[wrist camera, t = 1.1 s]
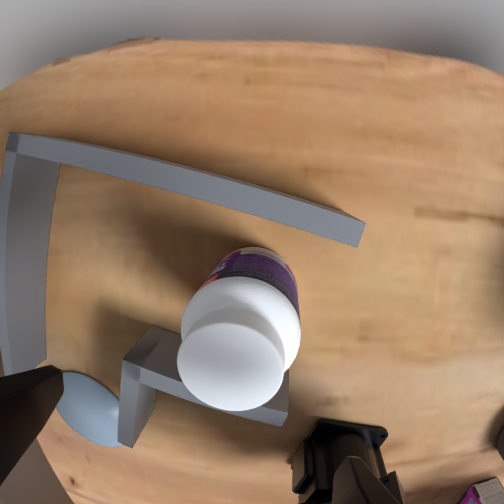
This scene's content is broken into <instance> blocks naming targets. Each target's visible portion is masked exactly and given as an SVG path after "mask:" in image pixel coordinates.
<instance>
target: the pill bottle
mask: <svg viewBox="0 0 504 504" xmlns="http://www.w3.org/2000/svg"><path fill="white" fill-rule="evenodd" d="M300 336H301V328H300V316H299V305H298V294H297V284H296V280H295V276H294V274H293V272H292V270H291V268H290V266H289V265H288V264H287V262H286V261H285V260H284V259H283V258H282V257H280V256H279V255H278V254H276V253H274V252H272V251H270V250H268V249H264V248H260V247H246V248H241V249H238V250H235V251H233V252H231V253H230V254H228V255H227V256H225V257H224V258H223V259H222V260H221V261H220V262H219V263H218V264H217V266H216V267H215V268H214V270H213V271H212V272H211V273H210V275H209V276H208V277H207V279H206V280H205V281H204V283H203V284H202V285H201V286H200V288H199V289H198V290H197V292H196V293H195V294H194V295H193V297H192V298H191V300H190V301H189V303H188V305H187V306H186V308H185V311H184V313H183V317H182V322H181V338H182V344H181V346H180V348H179V351H178V355H177V367H178V372H179V375H180V377H181V379H182V381H183V383H184V385H185V386H186V388H187V389H188V390H189V391H190V392H191V393H192V394H193V395H194V396H195V397H197V398H198V399H199V400H201V401H202V402H204V403H206V404H208V405H210V406H213V407H215V408H219V409H223V410H228V411H244V410H249V409H253V408H256V407H259V406H261V405H262V404H264V403H266V402H267V401H269V400H270V399H271V398H272V397H273V396H274V395H275V394H276V393H277V391H278V390H279V388H280V386H281V384H282V380H283V376H284V372H285V371H286V370H287V369H288V368H289V367H290V366H291V364H292V363H293V361H294V359H295V357H296V355H297V352H298V349H299V345H300Z"/></svg>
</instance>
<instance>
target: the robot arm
mask: <svg viewBox="0 0 504 504" xmlns="http://www.w3.org/2000/svg"><path fill="white" fill-rule="evenodd" d="M63 393H64V382H63V372H62V370H61V369H59V368H57V367H55V366H53V365H48V366H44V367H40V368H36V369H32V370H28V371H24V372H20V373H16V374H12V375H7V376H3V377H0V486H1V484H2V483H3V481H4V480H5V479H6V477H7V476H8V475H9V473H10V472H11V470H12V469H13V468H14V466H15V465H16V463H17V462H18V461H19V459H20V458H21V457H22V455H23V454H24V453H25V451H26V450H27V449H28V447H29V446H30V445H31V443H32V442H33V441H34V439H35V438H36V437H37V436H38V434H39V433H40V432H41V430H42V429H43V427H44V426H45V424H46V422H47V421H48V419H49V417H50V416H51V414H52V412H53V411H54V409H55V407H56V406H57V404H58V402H59V401H60V399H61V397H62V395H63ZM320 425H323V426H320ZM381 434H382V435H381ZM387 437H388V432H387V430H386V429H382V428H375V427H367V426H361V425H354V424H348V423H342V422H336V421H331V420H326V419H320V420H318V421H317V422H316V423H315V425H314V427H313V429H312V430H311V432H310V434H309V435H308V437H307V438H305V439H303V441H302V442H301V444H300V446H299V447H298V449H297V451H296V452H295V454H294V456H293V462H292V464H291V469H292V470H293V478H292V491H293V492H294V493H296V494H299V504H408V501H407V498H406V495H405V493H404V490H403V488H402V486H401V483H400V481H399V479H398V476H397V474H396V472H395V471H393V472H391V473H388V475H387V472H386V468H385V465H384V461H383V458H382V454H381V451H380V446H381V445H382V444H383V442H384V441H385V439H386V438H387Z"/></svg>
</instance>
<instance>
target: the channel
mask: <svg viewBox="0 0 504 504" xmlns="http://www.w3.org/2000/svg"><path fill="white" fill-rule="evenodd" d="M60 163H62V164H66V165H70V166H75V167H79V168H83V169H87V170H91V171H95V172H99V173H103V174H107V175H110V176H114V177H118V178H122V179H126V180H130V181H134V182H137V183H141V184H145V185H149V186H152V187H156V188H160V189H163V190H167V191H171V192H174V193H178V194H182V195H185V196H189V197H192V198H196V199H199V200H203V201H206V202H210V203H213V204H217V205H220V206H224V207H227V208H231V209H234V210H238V211H241V212H244V213H248V214H251V215H254V216H258V217H261V218H264V219H268V220H271V221H274V222H278V223H281V224H284V225H287V226H291V227H294V228H297V229H300V230H304V231H307V232H310V233H313V234H316V235H319V236H323V237H326V238H329V239H332V240H335V241H338V242H341V243H344V244H347V245H351V246H354V247H357V248H358V245H359V242H360V239H361V236H362V233H363V230H364V227H365V224H366V223H365V222H363V221H361V220H359V219H357V218H355V217H353V216H351V215H350V214H348V213H346V212H343V211H340V210H337V209H334V208H331V207H328V206H325V205H322V204H318V203H315V202H312V201H309V200H306V199H303V198H300V197H296V196H293V195H290V194H287V193H283V192H280V191H277V190H273V189H270V188H267V187H263V186H260V185H256V184H253V183H249V182H246V181H242V180H239V179H235V178H232V177H228V176H224V175H221V174H217V173H213V172H210V171H206V170H202V169H198V168H194V167H190V166H187V165H183V164H179V163H175V162H171V161H166V160H162V159H158V158H154V157H150V156H145V155H141V154H137V153H132V152H128V151H123V150H119V149H114V148H109V147H105V146H100V145H95V144H90V143H85V142H80V141H75V140H69V139H64V138H59V137H52V136H44V135H35V134H26V133H15V132H10V133H9V137H8V142H7V147H6V152H5V158H4V164H3V170H2V176H1V183H0V349H1V355H2V362H3V368H4V374H5V376H7V375H12V374H16V373H20V372H24V371H28V370H32V369H34V368H35V367H36V366H38V365H39V364H40V363H41V362H43V361H44V360H45V359H46V337H45V291H46V269H47V255H48V243H49V233H50V225H51V217H52V209H53V203H54V196H55V190H56V184H57V179H58V173H59V168H60ZM181 344H182V338H181V335H179V334H176V333H173V332H171V331H168V330H165V329H162V328H159V327H157V326H154V325H152V326H151V328H150V329H149V330H148V331H147V332H146V333H145V334H144V336H143V337H142V338H141V339H140V340H139V341H138V342H137V344H136V345H135V346H134V347H133V348H132V349H131V350H130V352H129V353H128V354H127V355H126V356H125V357H124V358H123V361H122V372H121V383H120V397H119V414H118V438H117V442H119V443H121V444H123V445H126V446H128V447H130V448H133V446H134V444H135V443H136V441H137V439H138V437H139V435H140V434H141V432H142V430H143V428H144V426H145V425H146V423H147V421H148V419H149V417H150V416H151V414H152V412H153V410H154V407H155V401H156V395H157V389H158V390H160V391H163V392H166V393H168V394H171V395H174V396H177V397H180V398H182V399H185V400H188V401H191V402H194V403H197V404H200V405H203V406H206V407H210V408H213V409H216V410H219V411H223V412H226V413H230V414H233V415H237V416H240V417H244V418H248V419H251V420H255V421H259V422H263V423H267V424H271V425H276V426H280V427H282V425H283V423H284V421H285V419H286V417H287V415H288V413H289V368H288V369H287V370H286V371H285V372H284V376H283V380H282V384H281V386H280V388H279V390H278V391H277V393H276V394H275V395H274V396H273V397H272V398H271V399H270V400H269V401H267V402H266V403H264V404H262V405H261V406H259V407H256V408H253V409H249V410H244V411H228V410H223V409H219V408H215V407H213V406H210V405H208V404H206V403H204V402H202V401H201V400H199V399H198V398H197V397H195V396H194V395H193V394H192V393H191V392H190V391H189V390H188V389H187V388H186V386H185V385H184V383H183V381H182V379H181V377H180V375H179V372H178V367H177V355H178V351H179V348H180V346H181Z"/></svg>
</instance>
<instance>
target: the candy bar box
mask: <svg viewBox="0 0 504 504" xmlns="http://www.w3.org/2000/svg"><path fill="white" fill-rule="evenodd" d="M457 504H504V488H503V486H502V484H501V482H500V481H499V479H498V478H497V477H495V478H491V479H489V480H486V481H483V482H480V483H477V484H474V485H471V486H470V488H469V489H468V490H467V492H466V493H465V494H464V496H463V497H462V498H461V500H460V501H459V502H458V503H457Z"/></svg>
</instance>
